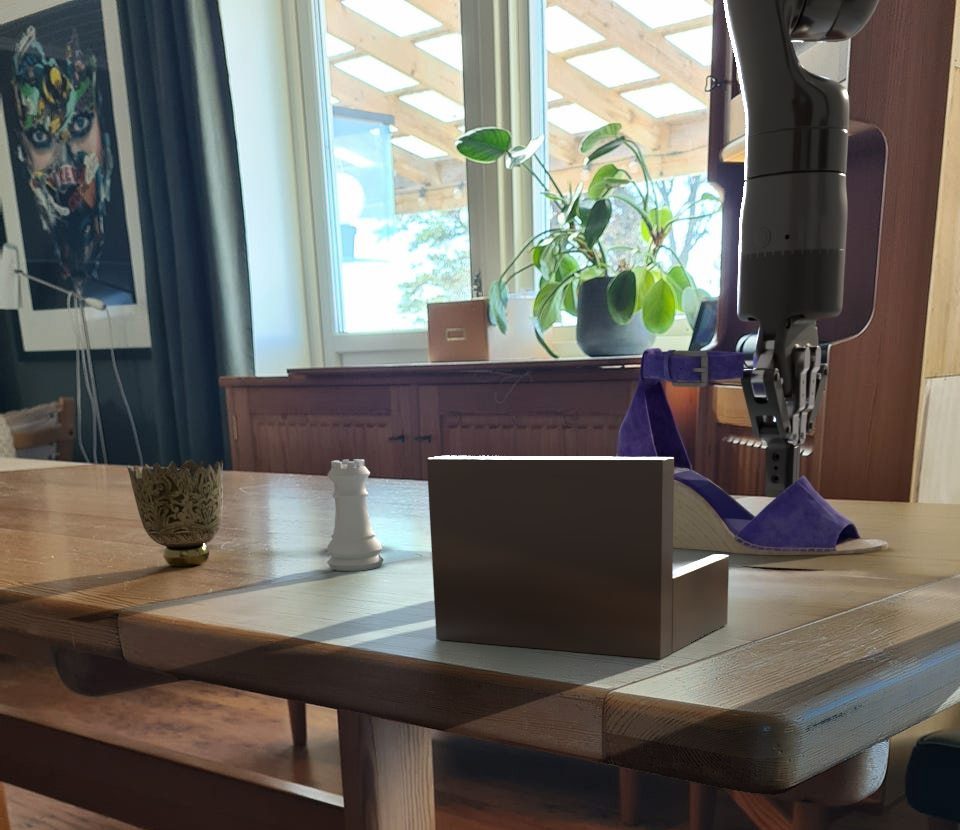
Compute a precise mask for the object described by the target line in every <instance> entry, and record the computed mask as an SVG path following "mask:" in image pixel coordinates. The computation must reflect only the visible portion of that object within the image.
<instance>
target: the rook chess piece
mask: <svg viewBox="0 0 960 830" xmlns="http://www.w3.org/2000/svg"><path fill="white" fill-rule="evenodd" d="M352 460H353V461H350V460H349V459H342V460H341V461H340V460H331V461H330V464H331V467H330V470H329V471H328V473H327V477H328V478H329V479H330V480H331V482H332V484H333V486H334V487H333V488H334V491H333V493H332V494H331V496H332V497H333V499H334V506H335V513H334V528H333V532H332V533H333V534H331V535H330V537H331V540H330V542H329V543H328V544H327V547H326V552H327V553H328V554H329V555H330V556H331V557H330V558H329V559H328V560H327V561H326V563H327V564H328V566H329V567H330V568H331V570H332V571H337V572H359V571H368V570H369V571H370V570H374V569H378V568H379V567H381V565H382V564H383V562H384V561H385V559H384V558H383V557H382V556H380V555H379V554H380V552H381V551H382V549H383V546H382V543H381V542H380V541H379V540H378V539H377V538H376V533H375V532H374V530H373V527H372V524H371V520H370V516H369V510H368V501H367V498H368V496H369V492H368V491H367V488H366V481H367V480H368V478H369V476H370V474H371V472H370V471H369V470H368V468H367V467H366V463H365V462H366V461H365V459H360V458H356V459H352Z"/></svg>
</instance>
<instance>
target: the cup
mask: <svg viewBox="0 0 960 830" xmlns="http://www.w3.org/2000/svg"><path fill="white" fill-rule="evenodd" d="M126 467H127V472H128V474H129V480H130V483H131V487H132V488H131V489H132V491H133V496H134V500H135V504H136V507H137V512H138V515H139V519H140V521H141V524H142V526H143V528H144V529H143V530H145V533H146V534H147V536H148V537H149V538H150V539H151V540H152V541H154V542H155V543H157V544H158V545H161V546H164V550H163V553H162V557H163V559H164V560H165V562H166V563H167V565H168V566H172V567H193V566H199V565H203V564H204V563H206V562H207V561H208V559H209V555H210V550H209V549H208V547H207V545H206V544H207V543H209V542H210V541H212V540H213V539H214V538H215V537H216V535H217V534H218V533H219V531H220V529H221V525H222V519H223V505H224V503H223V502H224V501H223V498H224V496H223V495H224V494H223V493H224V492H223V491H224V489H223V487H224V485H223V484H224V483H223V478H224V477H223V475H224V474H223V467H224V463H223V460H221V461H220V462H219V461H218V460H217V461H216V462H215V464H214V466H213V467H212V465H211V464H208V465H207V467H206V464H205V462H204V461H203V460H201V461H200V462H199V463H198V465H197V464H196V462H195V461H194V460H192V458H191V459H188V460H185V462H184V463H182V464H181V465H180V466H179V467H177V465H176V463H175V462H174V461H172V460H171V461H170V463H169V465H168V466H167V467H162V466H161V465H160V464H159V463H158V462H154V463H153V465H152V468H151V467H150V466H149V465H148V464H147V463H144V464H143V465H142V469H141V470H140V468H139V466H138V465H134V466H133V469H132V468H131V467H130V466H129V465H127V466H126Z"/></svg>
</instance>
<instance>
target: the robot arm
mask: <svg viewBox="0 0 960 830" xmlns="http://www.w3.org/2000/svg"><path fill="white" fill-rule="evenodd" d="M879 2H880V0H723V3H724V4H723V7H724V11H725V18H726V23H727V28H728V32H729V37H730V40H731V45H732V48H733V49H732V50H733V53H734V57H735V62H736V67H737V73H738V78H739V84H740V90H741V94H742V101H743V106H744V112H745V125H746V126H745V127H746V128H745V150H744V151H745V154H744V155H745V157H744V181H745V182H744V184H743V185H744V186H743V195H742V196H743V197H742V202H741V208H740V217H739V236H738V237H739V240H738V267H737V269H738V270H737V271H738V274H737V304H736V306H737V309H736V314H737V315H736V316H737V318H738V319H739V320H740V321H742V322H745V323H747V322H748V323H749V322H750V323H751V322H752V323H753V322H758V325H759V326H758V331H757V337H756V342H755V349H754V350H753V355H752V368H750V369H749V368H747V369H743V378H740V384H741V388H742V393H743V397H744V400H745V404H746V408H747V413H748V416H749V420H750V425H751V428H752V433H753V437H754V439H756V440H758V439H759V440H761V443H762V446H764V447H765V464H764V465H765V467H764V494H765V496H766V497H767V498H776V497H777V496H779V495H780V494H781V493H782V492H783V491H784V490H786V489H787V488H788V487H789V486H790V485H791V484H793V483H794V482H795V481H797V480H798V479H799V478H800V466H801V465H800V464H801V445H804V443H805V441H806V438H807V434H809V435H810V434H812V433H813V431H814V427H815V424H816V420H817V416H818V412H819V409H820V405H821V401H822V398H823V394H824V391H825V387H826V383H827V379H828V376H829V374H830V373H829V372H830V371H829V365H828V364H827V363H822V362H821V360H822V349H821V346H820V345H819V335H818V325H817V324H818V320H820V319H831V318H836V317H838V316H839V315H840V314H841V312H842V311H843V303H844V302H843V301H844V300H843V299H844V285H845V284H844V283H845V282H844V281H845V267H846V248H847V247H846V246H847V233H848V231H847V230H848V195H847V175H846V174H847V166H848V165H847V164H848V148H849V147H848V146H849V129H850V128H849V127H850V96H849V94H848V91H847V89H846V88H845V86H844V85H843V84H842V83H840V82H838V81H837V80H833V79H831V78H828V77H825V76H821V75H818V74H815V73H814V72H811V71H809V70H807V69H806V68H804V67H803V65H802V64H801V62H800V60H799V58H798V56H797V53H796V50H795V47H794V45H793V42H795V43H796V42H798V43H799V42H801V43H803V42H804V43H806V42H807V43H839V42H843V41H848V40H850V39H852V38H853V37H855V36H856V35H857V34H859V33H860V32H861V30H863V29H864V27H865V26H866V25H867V24H868V22H869V21H870V19H871V18H872V16H873V15H874V12H875V11H876V9H877V6H878V4H879Z"/></svg>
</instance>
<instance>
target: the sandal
mask: <svg viewBox="0 0 960 830" xmlns="http://www.w3.org/2000/svg"><path fill="white" fill-rule="evenodd" d="M745 356H746V354H745V352H740V351H739V352H738V351H720V350H719V351H718V350H717V351H715V350H683V349H682V350H677V349H668V350H666V351H662V349H661V348H660V347H652V348H647V349H645V350H644V351H643V352H642V355H641V360H640V366H639V373H638V375H639V376H638V383H637V385H636V388H635V391H634V392H633V395H632V398H631V401H630V404H629V407H628V409H627V412H626V414H625V416H624V418H623V420H622V423H621V425H620V427H619V430H618V434H617V441H616V442H617V443H616V444H617V445H616V453H615V457H674V510H673V549H691V550H702V551H703V550H704V551H713V552H723V553H731V554H732V553H733V554H742V555H743V554H744V555H760V556H761V555H762V556H765V555H767V556H816V555H818V556H821V555H851V554H853V555H854V554H867V553H876V552H882V551H886V550H888V549H889V544H888V543H887V541H885V540H881V539H875V538H868V537H867V538H866V537H861V536H860V534H859V532H858V528H857V527H856V525H855V524H854V523H853V522H852V521H851V520H850V519H848V518H846V516H844V515H842V513H839V512H838V511H837V510H836V509H835V508H834V507H833V506H832V505H831V504H830V503H829V502H828V501H827V500H825V498H824V497H822V495H821V494H819V492H817V490H815V488H814V487H813V485H812V484H811V483H810V481H809V480H808V478H807V477H806V476H805V475H804V474H803V475H802V476H801V477H799V479H798V480H797V481H795V482H794V483H793V484H791V485H790V486H789V487H788V488H787V489H786V490H784V491H783V492H782V493H781V494H780V495H779V496H777V497H774V499H772V501H770V502H769V503H768V504H767V505H766V506H764V507H763V509H761V511H759V512H758V513H757V515H754V514H753V513H751V512H750V511H749V510H748V509H747V508H745V507H744V506H743V505H742V504H741V503H740V502H738V501H737V499H735V498H733V496H731V495H730V494H729V493H728V492H727V491H725V489H723V488H721V487H720V486H719V485H717V484H716V483H715V482H713V481H712V480H711V479H709V478H708V477H706V476H704V475H702V474H701V473H700V474H699V473H698V472H696V471H695V470H693V465H692V464H691V461H690V459H689V455H688V453H687V449H686V447H685V444H684V442H683V439H682V435H681V434H680V431H679V428H678V425H677V422H676V420H675V417H674V414H673V411H672V408H671V405H670V404H669V400H668V398H667V395H666V392H665V388H664V386H663V383H662V381H667V382H668V383H671V385H672V386H673V387H676V388H705V387H706V386H708V382H709V381H726V380H739V379H741V378H743V370H744V367H745ZM741 567H743V568H750V569H756V570H765V571H781V572H817V571H818V572H819V571H821V572H822V571H823V569H815V568H813V569H812V568H793V567H773V566H754V565H753V566H752V565H741Z"/></svg>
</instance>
